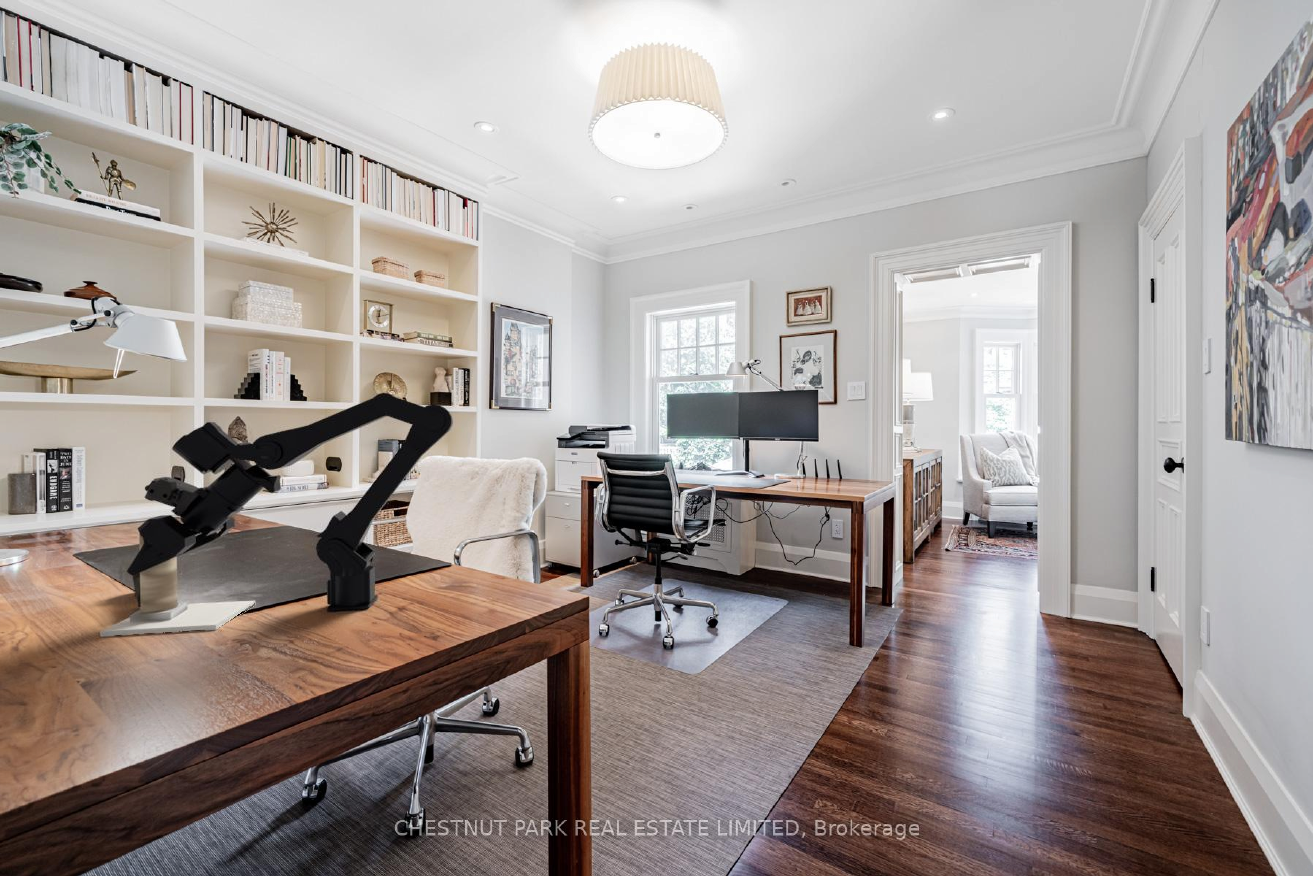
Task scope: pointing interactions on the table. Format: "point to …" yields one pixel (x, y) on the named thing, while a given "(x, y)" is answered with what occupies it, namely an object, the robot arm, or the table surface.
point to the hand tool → (137, 587)
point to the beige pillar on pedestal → (158, 593)
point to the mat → (184, 619)
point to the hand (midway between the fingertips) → (147, 566)
